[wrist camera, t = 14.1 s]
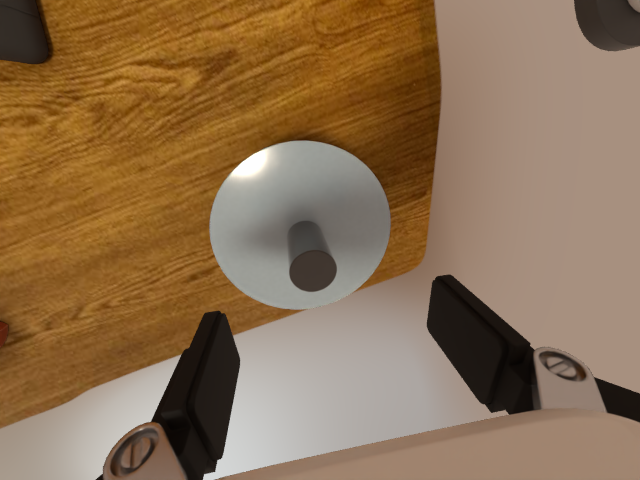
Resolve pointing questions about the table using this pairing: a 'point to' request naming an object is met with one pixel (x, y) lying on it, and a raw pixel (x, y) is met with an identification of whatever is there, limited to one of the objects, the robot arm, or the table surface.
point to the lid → (300, 224)
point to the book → (3, 333)
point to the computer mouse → (21, 32)
